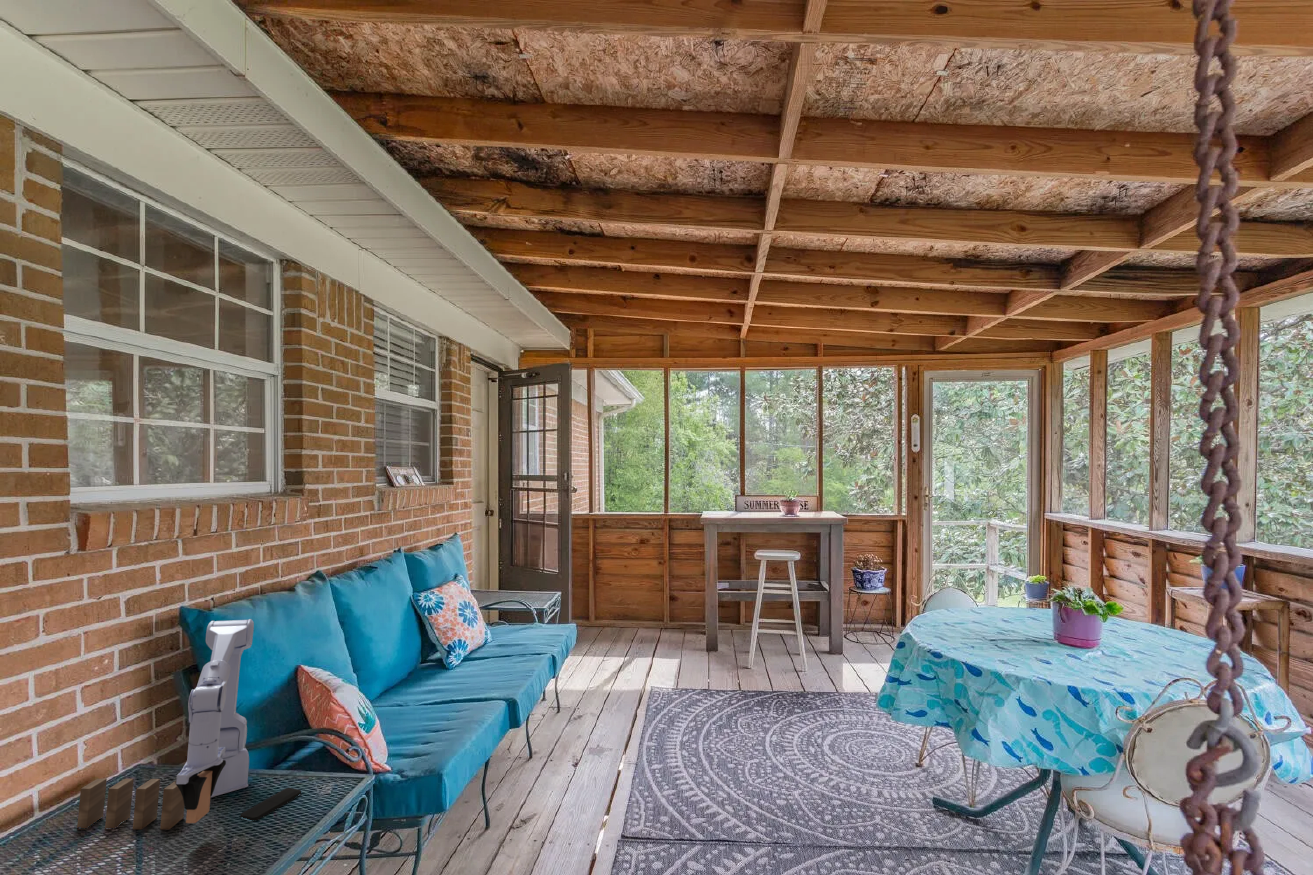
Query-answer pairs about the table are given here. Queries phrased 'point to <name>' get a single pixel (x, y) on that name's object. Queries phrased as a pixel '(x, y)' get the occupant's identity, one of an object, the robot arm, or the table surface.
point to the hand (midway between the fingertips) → (198, 802)
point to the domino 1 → (91, 803)
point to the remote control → (271, 804)
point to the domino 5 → (201, 800)
